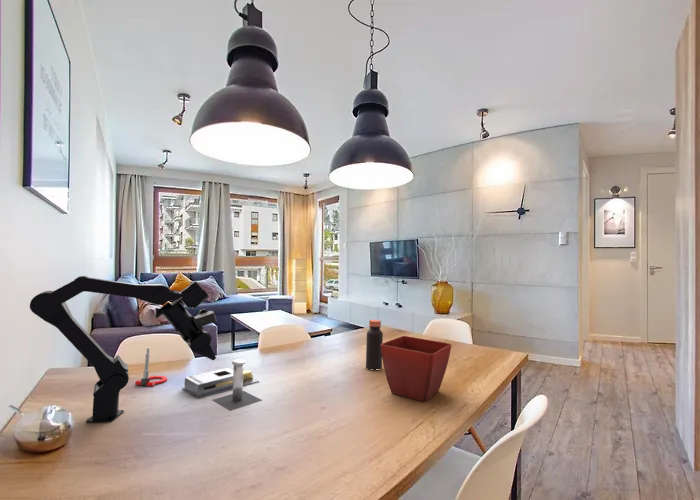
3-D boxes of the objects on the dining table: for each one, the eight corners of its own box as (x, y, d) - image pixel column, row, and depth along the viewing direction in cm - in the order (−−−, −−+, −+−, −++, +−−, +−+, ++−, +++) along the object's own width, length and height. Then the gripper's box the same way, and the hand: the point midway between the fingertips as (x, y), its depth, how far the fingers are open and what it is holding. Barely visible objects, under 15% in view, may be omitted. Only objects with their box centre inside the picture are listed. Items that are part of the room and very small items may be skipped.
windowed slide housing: (198, 400, 108) (199, 386, 108) (182, 389, 116) (182, 376, 116) (258, 383, 124) (259, 370, 125) (240, 375, 132) (241, 363, 133)
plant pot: (451, 391, 123) (452, 343, 123) (431, 409, 107) (432, 354, 107) (402, 379, 133) (403, 335, 134) (377, 394, 118) (379, 344, 118)
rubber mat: (230, 412, 100) (230, 410, 100) (211, 401, 108) (211, 399, 108) (262, 401, 109) (262, 400, 109) (243, 391, 116) (243, 390, 116)
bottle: (362, 367, 146) (363, 320, 147) (373, 364, 151) (374, 318, 151) (373, 371, 141) (375, 322, 142) (385, 368, 146) (386, 321, 146)
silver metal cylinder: (242, 402, 106) (244, 363, 107) (229, 402, 106) (230, 363, 106) (245, 397, 110) (246, 359, 111) (232, 397, 110) (233, 359, 110)
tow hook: (151, 377, 128) (132, 385, 119) (154, 342, 129) (135, 347, 120) (172, 380, 127) (154, 387, 117) (175, 344, 128) (157, 349, 118)
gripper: (209, 305, 102) (240, 344, 106) (197, 298, 117) (224, 332, 122) (175, 331, 96) (209, 370, 101) (167, 320, 112) (197, 355, 117)
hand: (211, 355), depth 110 cm, fingers open, 9 cm apart
